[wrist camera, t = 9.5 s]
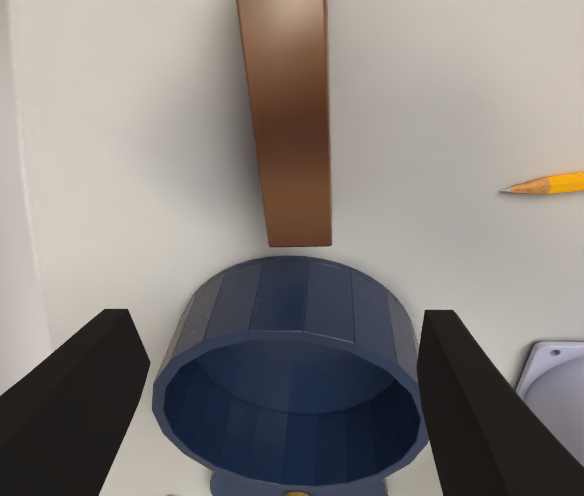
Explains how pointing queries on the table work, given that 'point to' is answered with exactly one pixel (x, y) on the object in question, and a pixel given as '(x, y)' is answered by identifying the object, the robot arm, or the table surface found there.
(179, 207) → the table surface
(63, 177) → the table surface
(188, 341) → the tin
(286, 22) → the stick
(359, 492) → the tin lid
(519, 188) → the pencil
